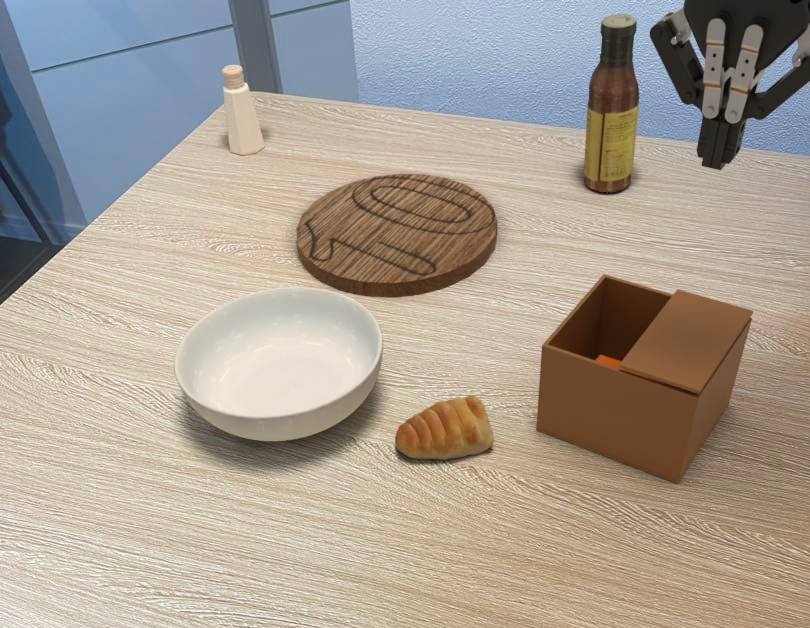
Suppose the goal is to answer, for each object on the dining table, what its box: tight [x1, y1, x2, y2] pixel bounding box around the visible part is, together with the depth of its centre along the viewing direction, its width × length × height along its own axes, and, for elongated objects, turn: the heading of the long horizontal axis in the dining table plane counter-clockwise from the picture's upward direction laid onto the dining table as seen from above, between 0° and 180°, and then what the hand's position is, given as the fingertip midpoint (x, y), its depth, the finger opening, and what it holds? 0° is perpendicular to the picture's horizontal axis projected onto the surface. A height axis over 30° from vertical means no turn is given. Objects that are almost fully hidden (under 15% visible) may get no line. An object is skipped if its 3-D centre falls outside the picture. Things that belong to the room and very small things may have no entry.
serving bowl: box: [173, 286, 384, 442], centre depth 93 cm, size 21×21×7 cm
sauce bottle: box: [583, 13, 640, 194], centre depth 113 cm, size 7×6×20 cm
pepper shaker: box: [221, 64, 266, 156], centre depth 129 cm, size 5×5×11 cm
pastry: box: [394, 394, 495, 461], centre depth 89 cm, size 9×7×4 cm
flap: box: [619, 288, 754, 394], centre depth 81 cm, size 7×13×1 cm, turn 146°
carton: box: [535, 273, 753, 485], centre depth 87 cm, size 15×13×10 cm
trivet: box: [295, 173, 498, 298], centre depth 114 cm, size 25×25×2 cm
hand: (715, 163), depth 69 cm, fingers closed
